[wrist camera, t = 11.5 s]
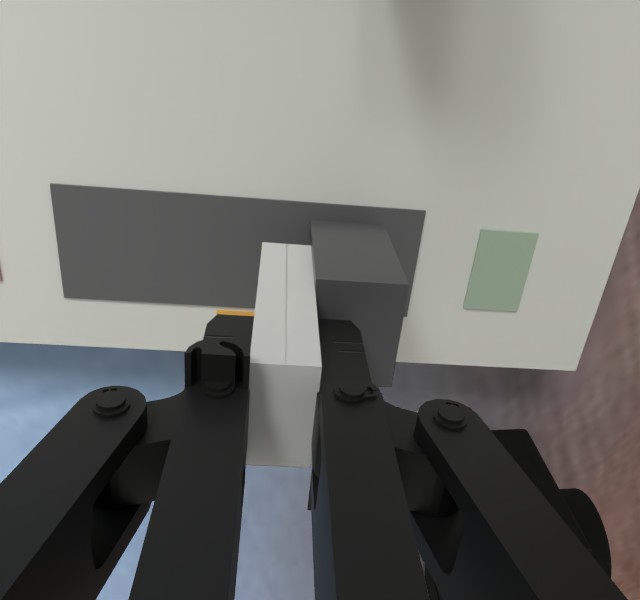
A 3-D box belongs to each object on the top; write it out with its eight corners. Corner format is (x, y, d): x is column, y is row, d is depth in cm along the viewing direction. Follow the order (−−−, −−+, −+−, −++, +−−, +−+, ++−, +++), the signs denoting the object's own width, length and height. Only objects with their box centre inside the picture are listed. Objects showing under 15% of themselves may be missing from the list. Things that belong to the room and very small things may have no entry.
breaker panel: (-277, -444, 14) (-416, -553, 11) (738, -292, 16) (830, -351, 13) (-86, 296, 23) (-136, 336, 20) (545, 331, 25) (576, 372, 22)
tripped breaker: (310, 219, 19) (316, 279, 15) (384, 225, 19) (409, 284, 15) (303, 307, 20) (305, 383, 16) (371, 311, 20) (391, 386, 16)
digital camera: (520, 571, 33) (573, 706, 26) (423, 576, 32) (455, 713, 26) (551, 426, 28) (626, 549, 22) (438, 430, 28) (482, 556, 21)
